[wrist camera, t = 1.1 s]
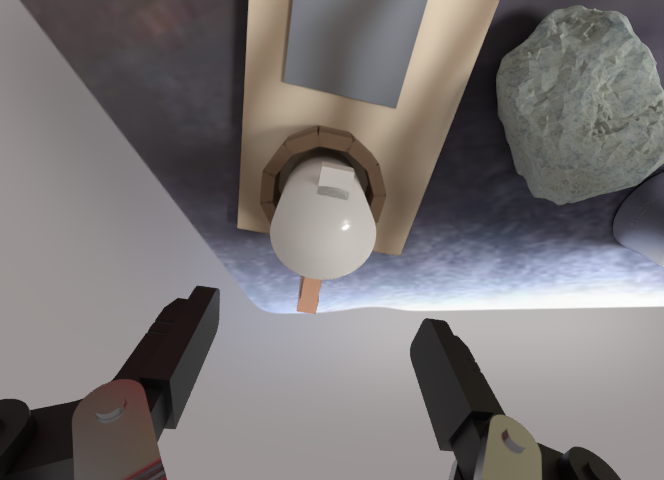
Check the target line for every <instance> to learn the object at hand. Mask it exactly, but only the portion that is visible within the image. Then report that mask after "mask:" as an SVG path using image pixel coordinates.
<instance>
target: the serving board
mask: <svg viewBox="0 0 664 480" xmlns="http://www.w3.org/2000/svg"><path fill="white" fill-rule="evenodd" d="M498 2H499V0H249V5H248V25H247V45H246V65H245V85H244V105H243V125H242V145H241V165H240V185H239V205H238V225H237V228H239V229H245V230H250V231H256V232H262V233H268V234H270V227H271V222H272V219H273V217H274V214H275V211H276V209H277V206H278V203H279V201H280V198H281V195H282V193H283V190H284V187H285V185H286V182H287V179H288V177H289V174H290V171H291V169H292V167H293V165H294V164H295V163H296V161H297V160H298V159H299V158H300V157H302V156H303V155H305V154H306V153H309V152H311V151H315V150H331V151H335V152H337V153H339V154H341V155H343V156H344V157H345V158H347V159H348V160H349V162H350V163H351V164H352V165H353V167H354V169H355V171H356V174H357V177H358V179H359V182H360V184H361V187H362V190H363V192H364V195H365V197H366V200H367V203H368V205H369V208H370V210H371V213H372V216H373V218H374V221H375V226H376V241H375V245H374V248H373V250H372V251H374V252H380V253H386V254H392V255H398V256H400V254H401V252H402V249H403V247H404V244H405V242H406V239H407V236H408V234H409V231H410V229H411V226H412V224H413V221H414V218H415V216H416V213H417V211H418V208H419V206H420V203H421V200H422V198H423V195H424V193H425V190H426V188H427V185H428V182H429V180H430V177H431V175H432V172H433V170H434V167H435V164H436V162H437V159H438V157H439V154H440V152H441V149H442V146H443V144H444V141H445V139H446V136H447V134H448V131H449V128H450V126H451V123H452V121H453V118H454V116H455V113H456V110H457V108H458V105H459V103H460V100H461V98H462V95H463V92H464V90H465V87H466V85H467V82H468V80H469V77H470V74H471V72H472V69H473V67H474V64H475V62H476V59H477V56H478V54H479V51H480V49H481V46H482V44H483V41H484V38H485V36H486V33H487V31H488V28H489V26H490V23H491V20H492V18H493V15H494V13H495V10H496V8H497V5H498Z"/></svg>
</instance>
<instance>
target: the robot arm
mask: <svg viewBox="0 0 664 480" xmlns="http://www.w3.org/2000/svg"><path fill="white" fill-rule="evenodd" d="M613 234H614V237H615V239H616V240H617V241H618V242H619V243H620V244H621V245H623V246H625V247H627V248H629V249H631V250H632V251H634V252H636V253H638V254H640V255H642V256H644V257H645V258H647V259H649V260H651V261H653V262H655V263H657V264H658V265H660V266H662V267H664V172H662V173H660V174H658V175H656V176H654V177H652V178H651V179H649V180H648V181H646V182H645V183H643V184H642V185H640V186H639V187H638V188H637V189H636V190H635V191H633V192H632V193H631V194H630V195H629V197H628V198H627V199H626V200H625V201H624V202H623V204H622V205H621V207H620V208H619V210H618V212H617V214H616V216H615V219H614V223H613ZM219 297H220V291H219V289H218V288H210V287H204V286H196V288H195V289H194V290H193V292H192V293H191V295H190V297H189V298H188V299H181V298H177V299H176V300H174V301H173V302H172V303H171V304H169V305H167V306H166V307H164V309H163V310H162V312H161V313H160V314H159V316H158V317H157V319H156V320H155V323H153V324H152V326H151V327H150V329H149V330H148V333H146V334H145V336H144V337H143V339H142V340H141V341H140V343H139V344H138V346H137V347H136V348H135V350H134V351H133V353H132V354H131V355H130V357H129V358H128V360H127V361H126V362H125V364H124V365H123V367H122V368H121V370H120V371H119V372H118V374H117V375H116V376H115V378H114V379H113V380H112V381H111V382H108V383H106V384H103V385H101V386H100V387H98V388H96V389H95V390H93V391H92V392H90V393H89V394H88V395H87V396H86V397H85V398H83V399H80V400H77V401H74V402H70V403H64V404H59V405H54V406H50V407H44V408H39V409H34V410H30V409H29V408H28V406H27V405H26V403H24V402H23V401H20V400H17V399H3V400H0V480H167V478H166V474H165V470H164V467H163V464H162V461H161V456H160V452H159V448H158V444H157V442H158V440H159V438H160V436H161V434H162V431H163V429H164V428H166V429H176V427H177V424H178V422H179V419H180V417H181V415H182V412H183V410H184V408H185V405H186V403H187V401H188V398H189V396H190V394H191V391H192V389H193V387H194V384H195V382H196V380H197V377H198V375H199V372H200V370H201V368H202V365H203V363H204V361H205V358H206V356H207V354H208V351H209V349H210V347H211V344H212V342H213V339H214V337H215V335H216V332H217V328H218V324H219V303H220V302H219V300H220V298H219ZM410 357H411V361H412V364H413V367H414V370H415V373H416V377H417V380H418V383H419V386H420V389H421V392H422V395H423V399H424V402H425V405H426V408H427V411H428V414H429V417H430V420H431V423H432V426H433V430H434V432H435V436H436V439H437V442H438V445H439V448H440V450H443V451H453V452H454V454H455V457H456V460H455V461H454V462H453V465H452V468H451V473H450V476H449V480H621V479H620V478H619V476H618V475H617V474H616V473H615V472H614V470H613V469H612V468H611V467H610V466H609V465H608V464H607V463H606V462H605V461H603V460H602V459H601V458H600V457H598V456H597V455H595V454H594V453H592V452H591V451H589V450H587V449H584V448H582V447H573V448H571V449H570V450H569V451H567V452H566V453H565V454H563V453H560V452H558V451H556V450H553V449H551V448H549V447H546V446H544V445H542V444H539V443H537V442H536V441H535V439H534V438H533V436H532V435H531V434H530V433H529V431H528V430H527V429H526V428H525V427H524V426H523V425H521V424H520V423H519V422H517V421H516V420H514V419H513V418H511V417H508V416H506V415H505V413H504V411H503V410H502V408H501V406H500V404H499V402H498V401H497V399H496V397H495V395H494V393H493V392H492V390H491V388H490V386H489V384H488V383H487V381H486V379H485V377H484V375H483V374H482V373H481V372H480V368H479V366H478V365H477V363H476V362H475V359H474V358H473V355H472V354H471V352H470V350H469V348H468V347H467V346H466V345H465V344H464V343H463V341H462V340H461V339H460V338H459V337H457V336H454V335H453V333H452V331H451V329H450V327H449V325H448V324H447V322H445V321H443V320H435V319H428V318H426V319H424V320H423V322H422V324H421V326H420V328H419V330H418V332H417V334H416V336H415V338H414V340H413V342H412V344H411V348H410Z"/></svg>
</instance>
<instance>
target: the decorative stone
mask: <svg viewBox="0 0 664 480" xmlns="http://www.w3.org/2000/svg"><path fill="white" fill-rule="evenodd" d="M656 64H657V63H656V61H655V60H654V58H653V56H652V53H651V51H650V50H649V48H648V47H647V46H646V45H644V44H643V43H642V42H641V41H640V40H639V38H638V37H637V36H636V34H635V33H634V32H633V29H632V27H631V25H630V23H629V20H628V18H627V17H626V16H624V15H623V14H621V13H620V12H617V11H599V10H596V9H593V10H591V9H586V8H585V7H583V6H581V5H576V6H571V7H568V8H564V9H557V10H554V11H552V12H550V13H549V14H548V15H547V16H546V17H545V18H544V20H542V21H541V23H540V24H539V25H538V26H537V28H536V30H535V31H534V32H533V33H532V34H531V35H530V36H529V38H528V39H527V40H525V41H524V42H523V43H522V44H520V45H519V46H518V47H516V48H515V49H513V50H512V51H511V52H509V53H508V54H506V55H505V56H504V57H503V58H502V61H501V64H500V67H499V70H498V72H497V78H496V91H497V99H498V117H499V118H500V120H501V122H502V123H503V125H504V129H505V135H506V139H507V142H508V143H509V146H510V149H511V151H512V152H511V154H512V157H513V161H514V165H515V168H516V171H517V173H518V174H519V175H521V176H523V177H524V178H525V180H526V181H527V185H528V188H529V190H530V191H531V193H532V195H533V196H534V197H535V198H546V199H548V200H550V201H553V202H554V203H555V204H557V205H564V204H566V203H567V202H569V203H574V202H578V201H582V200H585V199H587V198H590V197H595V196H597V195H601V194H606V193H611V192H616V191H619V190H622V189H625V188H629V187H633V186H637V185H638V184H640V183H641V182H642V181H643V180H644V179H645V178H647V177H648V176H649V175H650V174H652V173H653V172H654V171H655V170H656V169H657V168H659V167H660V166H661V165H662V164H664V90H663V88H662V87H661V85H660V79H659V76H658V73H657V70H656Z"/></svg>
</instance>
